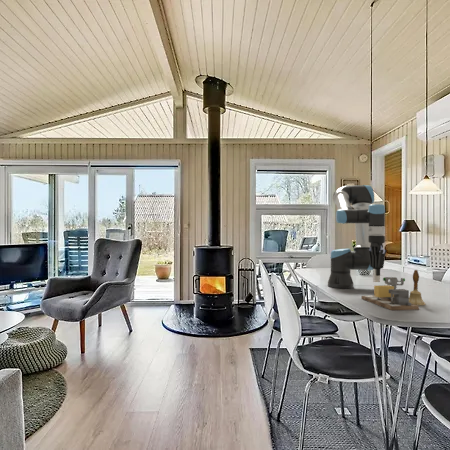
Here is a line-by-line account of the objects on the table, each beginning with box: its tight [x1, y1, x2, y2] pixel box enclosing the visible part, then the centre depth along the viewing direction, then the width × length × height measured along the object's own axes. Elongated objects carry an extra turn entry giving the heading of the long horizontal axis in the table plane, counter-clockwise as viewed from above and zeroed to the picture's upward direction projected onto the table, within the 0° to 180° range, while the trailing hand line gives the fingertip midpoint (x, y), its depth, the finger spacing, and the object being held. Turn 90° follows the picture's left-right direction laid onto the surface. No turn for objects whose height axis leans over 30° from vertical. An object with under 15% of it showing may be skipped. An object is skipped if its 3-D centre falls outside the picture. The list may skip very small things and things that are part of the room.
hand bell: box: [409, 269, 427, 306], centre depth 156 cm, size 8×8×16 cm
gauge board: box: [361, 288, 420, 311], centre depth 156 cm, size 24×13×8 cm, turn 8°
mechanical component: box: [382, 276, 406, 289], centre depth 172 cm, size 3×10×10 cm, turn 79°
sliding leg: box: [373, 284, 394, 298], centre depth 158 cm, size 4×8×6 cm, turn 98°
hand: (376, 281), depth 165 cm, fingers closed
